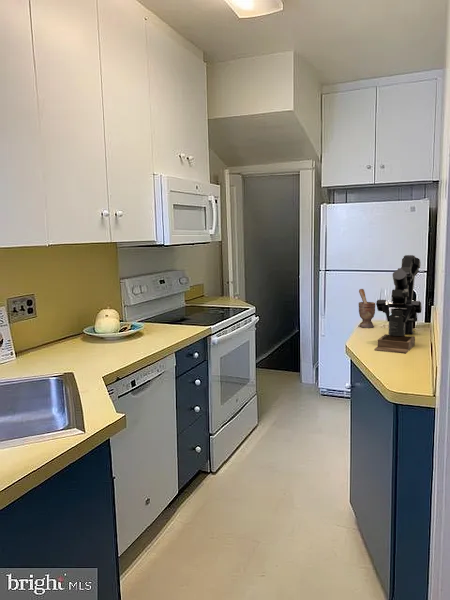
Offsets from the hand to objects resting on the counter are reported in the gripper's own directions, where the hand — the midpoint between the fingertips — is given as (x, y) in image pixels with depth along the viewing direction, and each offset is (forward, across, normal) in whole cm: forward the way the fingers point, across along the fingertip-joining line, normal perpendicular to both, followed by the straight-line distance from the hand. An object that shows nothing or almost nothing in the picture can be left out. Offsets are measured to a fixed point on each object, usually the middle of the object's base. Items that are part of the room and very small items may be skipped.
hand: (396, 321), depth 211 cm
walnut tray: (+9, 0, +7) cm, 11 cm away
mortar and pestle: (-21, -23, +38) cm, 49 cm away
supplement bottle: (+4, 0, +6) cm, 7 cm away
